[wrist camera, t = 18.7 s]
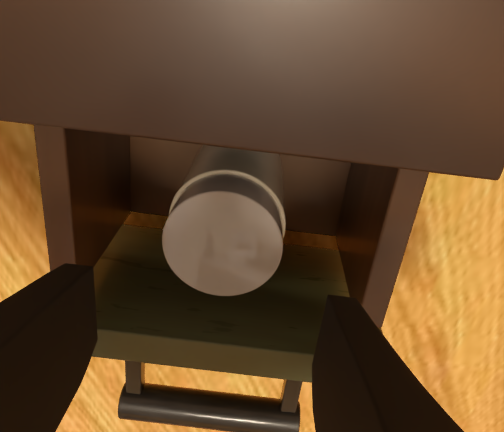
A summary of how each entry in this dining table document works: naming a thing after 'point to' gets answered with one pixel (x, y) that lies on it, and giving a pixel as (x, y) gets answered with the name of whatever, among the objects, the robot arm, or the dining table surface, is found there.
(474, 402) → the dining table surface
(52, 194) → the drawer
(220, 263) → the salt shaker
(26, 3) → the cabinet
